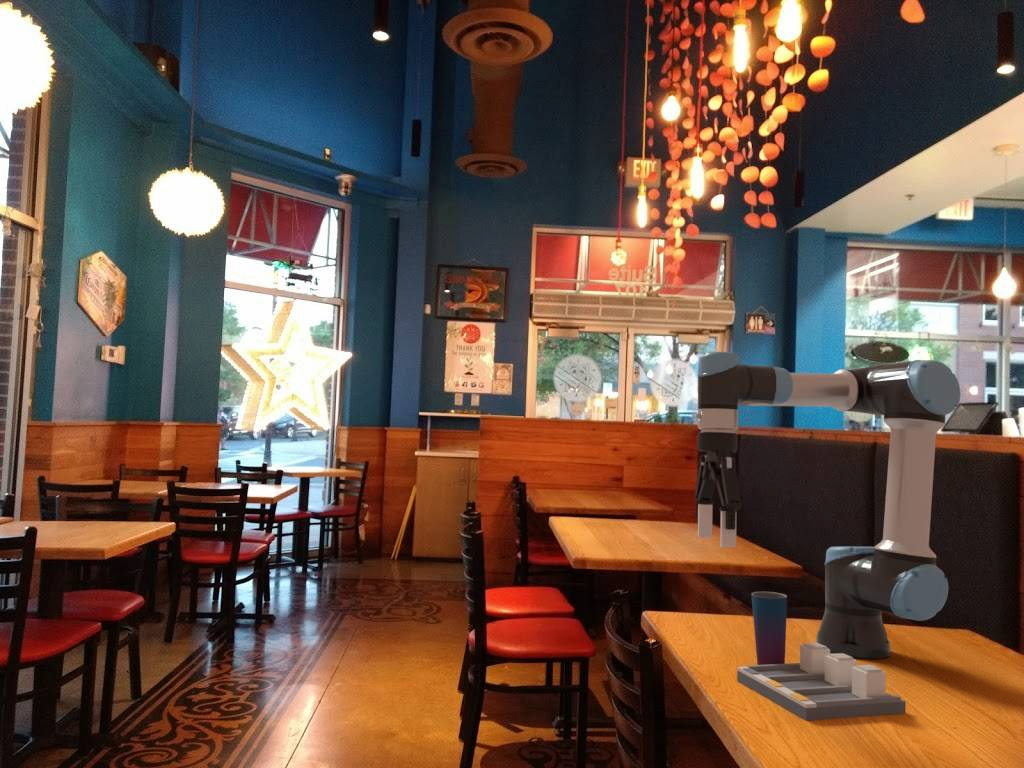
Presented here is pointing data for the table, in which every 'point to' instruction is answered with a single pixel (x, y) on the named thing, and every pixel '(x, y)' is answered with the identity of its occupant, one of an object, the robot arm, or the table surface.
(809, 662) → the tab
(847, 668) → the tab middle
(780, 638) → the cup
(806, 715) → the switch bank
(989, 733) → the table surface
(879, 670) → the tab
